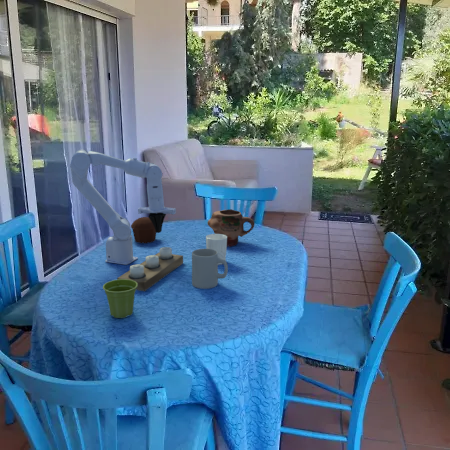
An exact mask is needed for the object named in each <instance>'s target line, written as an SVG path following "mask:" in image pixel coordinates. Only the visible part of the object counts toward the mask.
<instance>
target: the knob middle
mask: <svg viewBox="0 0 450 450" xmlns="http://www.w3.org/2000/svg"><path fill="white" fill-rule="evenodd" d="M145 261H146V267H149V268H155V267H158V266H159V257H158V256H156V254H152V255H147V256H145Z"/></svg>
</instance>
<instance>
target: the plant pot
mask: <svg viewBox="0 0 450 450" xmlns="http://www.w3.org/2000/svg"><path fill="white" fill-rule="evenodd" d="M137 285H138V284H137V282H135V281H133V280H128V279H118V280H117V279H113V280H110V281H109V280H108V281H107V282H105V283H104V284H103V286H102V289H103V290H104V293H105V295H106V299H107V302H108V303H107V304H108V308H109V313H110V316H112V317H113V318H116V319H124V318H127V317H129V316H132V314H133V313H134V305H135V304H134V302H135V295H136V291H137V290H136V288H137Z"/></svg>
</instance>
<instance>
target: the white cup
mask: <svg viewBox="0 0 450 450" xmlns="http://www.w3.org/2000/svg"><path fill="white" fill-rule="evenodd" d="M205 244H206V246H205V247H206V248H205V249H213V250H216V251H217V252H218V258H222V259H224V260H226V258H227V257H226V255H227V247H228V246H227V236H226V235H223V234H215V233H211V234H206V236H205ZM226 261H227V260H226ZM221 265H223V264H222V263H218V266H221Z"/></svg>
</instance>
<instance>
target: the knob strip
mask: <svg viewBox="0 0 450 450" xmlns="http://www.w3.org/2000/svg"><path fill="white" fill-rule="evenodd" d="M155 255H156V256H158V257H159V266H158V267H155V268H149V267H146V260H144V261H143V262H141V263H140V265H143V266H144V276H143V277H140V278H133V277H131V276H130V269H129V270H128V271H126V272H125V273H123V274H122V275H120V276H119V277H116V278H117V279H116V280H118V279H128V280H133V281H135V282H137V284H138V285H137V288H136V291H141V292H146V291H147V290H148V289H150V288H151V287H153V286H154V285H155V284H158V282H160V281H161V280H162V279H163V278H165V277H166V276H168V275H169V274H171V273H172V272H173V271H174V270H176V269H178V268H179V267H180V266H182V265H183V264H184V255H182V254H181V255H179V254H174V253H172V257H171V258H168V259H163V258H160V251H159V252H157V253H156V254H155Z"/></svg>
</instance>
